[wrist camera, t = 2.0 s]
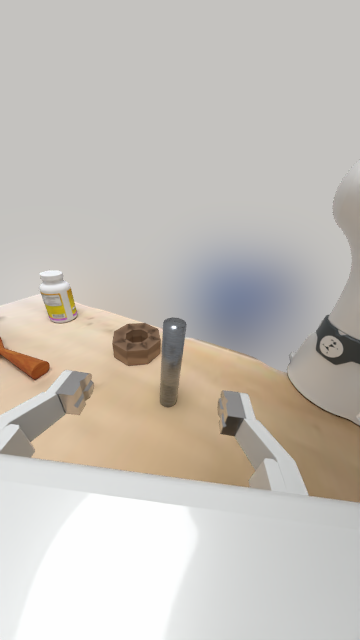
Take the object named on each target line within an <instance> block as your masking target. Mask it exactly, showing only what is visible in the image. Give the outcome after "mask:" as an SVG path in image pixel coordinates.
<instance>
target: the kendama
mask: <svg viewBox="0 0 360 640" xmlns="http://www.w3.org/2000/svg"><path fill="white" fill-rule="evenodd" d="M0 354H1V355H2V356H4V357H5V358H6V359H8V360H9V361H10V362H12V363H13V364H14V365H16V366H17V367H18V368H20V369H21V370H22V371H24V372H25V373H26V374H28V375H29V376H30V377H32V378H34V379H38V378H40V377H41V376H42V375H44V374H45V373H46V372H47V371H48V370H49V366H50V365H49V363H48V362H46V361H43V360H40V359H37V358H34V357H30V356H27V355H24V354H21V353H18V352H15V351H11V350H8V349H5V348H4V346H3V343H2V340H1V338H0Z"/></svg>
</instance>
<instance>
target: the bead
mask: <svg viewBox="0 0 360 640" xmlns="http://www.w3.org/2000/svg"><path fill="white" fill-rule="evenodd" d="M112 344H113V351H114V357H115V358H116V359H118V360H120V361H121V362H123V363H124V364H126V365H128V366H131V365H141V364H148V363H150V362H151V361H152V360H153V359H154V358H155V357H156V356H158V355H159V354H160V335H159V330H158V329H157V328H155V327H152V326H150V325H148V324H146V323H138V324H127V325H125V326H123V327H122V328H120V329H118V330H116V331H114V337H113V343H112Z"/></svg>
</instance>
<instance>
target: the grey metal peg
mask: <svg viewBox="0 0 360 640" xmlns="http://www.w3.org/2000/svg"><path fill="white" fill-rule="evenodd" d="M185 331H186V322H185V321H184V320H182V319H179V318H168V319H166V320H165V321H164V323H163V341H162V362H161V383H160V403H161V404H162V405H163V406H164V407H172V406H174V405H175V403H176V401H177V393H178V386H179V378H180V370H181V362H182V355H183V347H184V339H185Z"/></svg>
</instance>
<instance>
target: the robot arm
mask: <svg viewBox="0 0 360 640" xmlns="http://www.w3.org/2000/svg"><path fill="white" fill-rule="evenodd" d="M333 215H334V219H335V221H336V223H337V225H338V226H339V227H340V228H341V229H342V231H343V232H344V234H345V235H346V237H347V239H348V242H349V245H350V248H351V254H352V266H351V272H350V276H349V279H348V281H347V284H346V286H345V288H344V290H343V292H342V294H341V296H340V298H339V300H338V302H337V303H336V305H335V307H334V309H333V310H332V312H331V313H330V315H327V316H326V317H325V318H324V320H323V321H322V322H321V323H320V325H319V328H318V329H317V331H316V332H315V333H311V334H309V335H308V337H307V338H306V339H305V341H304V342H303V344H302V345H301V346H300V348H299V349H298V350H297V352H291V354H290V355H289V358H290V364H289V365H288V368H287V373H288V376H289V378H290V380H291V382H292V383H293V385H294V386H295V387H296V388H297V389H298V391H299V392H300V393H302V394H303V395H304V396H305V397H306V398H307V399H309V400H310V401H311V402H313V403H314V404H316V405H317V406H319V407H321V408H323V409H324V410H326V411H328V412H331V413H333V414H335V415H338V416H341V417H344V418H347V419H349V420H351V421H353V422H354V423H356V424H358V425H359V426H360V160H359V161H358V162H357V163H356V164H355V165H354V166H353V167H352V168H351V169H350V170H349V171H348V173H347V174H346V175H345V177H344V178H343V180H342V181H341V183H340V185H339V187H338V189H337V191H336V194H335V197H334V201H333ZM91 379H92V375H91V374H89V373H83V372H77V371H70V370H65V371H63V372H62V374H61V375H60V376H59V377H58V378H57V379H56V381H55V382H54V383H53V384H52V385H51V386H50V388H49V389H48V390H47V391H46V392H42V393H40V394H38V395H37V396H35V397H33V398H31V399H29V400H27V401H26V402H24V403H22V404H20V405H18V406H16V407H15V408H13V409H11V410H9V411H7V412H5V413H3V414H2V415H0V640H360V503H358V502H351V501H344V500H336V499H329V498H322V497H315V496H309V494H308V492H307V489H306V487H305V484H304V482H303V480H302V477H301V475H300V472H299V470H298V467H297V465H296V462H295V461H294V460H293V459H292V457H291V456H290V455H289V454H288V453H287V452H286V451H285V450H284V448H283V447H282V446H281V445H280V444H279V443H278V442H277V441H276V439H275V438H274V437H273V436H272V435H271V434H270V433H269V432H268V430H267V429H266V428H265V427H264V426H263V425H262V424H261V423H260V421H258V420H256V418H255V415H254V412H253V408H252V405H251V402H250V398H249V395H248V394H246V393H238V392H232V391H222V392H221V398H220V399H219V401H218V415H219V417H220V421H219V427H220V434H224V435H231V436H235V438H236V440H237V442H238V443H239V445H240V446H241V448H242V450H243V451H244V453H245V454H246V456H247V458H248V459H249V461H250V462H251V464H252V466H253V467H254V469H255V472H254V474H253V475H252V476H251V478H250V479H249V485H250V488H249V487H242V486H234V485H227V484H220V483H212V482H205V481H198V480H190V479H183V478H176V477H169V476H161V475H154V474H147V473H139V472H132V471H125V470H117V469H110V468H103V467H96V466H88V465H81V464H74V463H66V462H59V461H52V460H44V459H37V458H31V456H32V455H33V453H34V452H35V448H34V447H33V445H32V444H31V441H32V440H34V439H35V438H36V437H38V436H39V435H40V434H41V433H43V432H44V431H45V430H46V429H48V428H49V427H50V426H51V425H53V424H54V423H55V422H56V421H58V420H59V419H60V418H62V417H63V416H64V415H65V414H74V415H80V414H81V412H82V410H83V409H84V407H85V405H86V402H85V401H86V400H87V399H89V398H90V397H91V395H92V393H93V389H94V383H93V382H92V381H91Z"/></svg>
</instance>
